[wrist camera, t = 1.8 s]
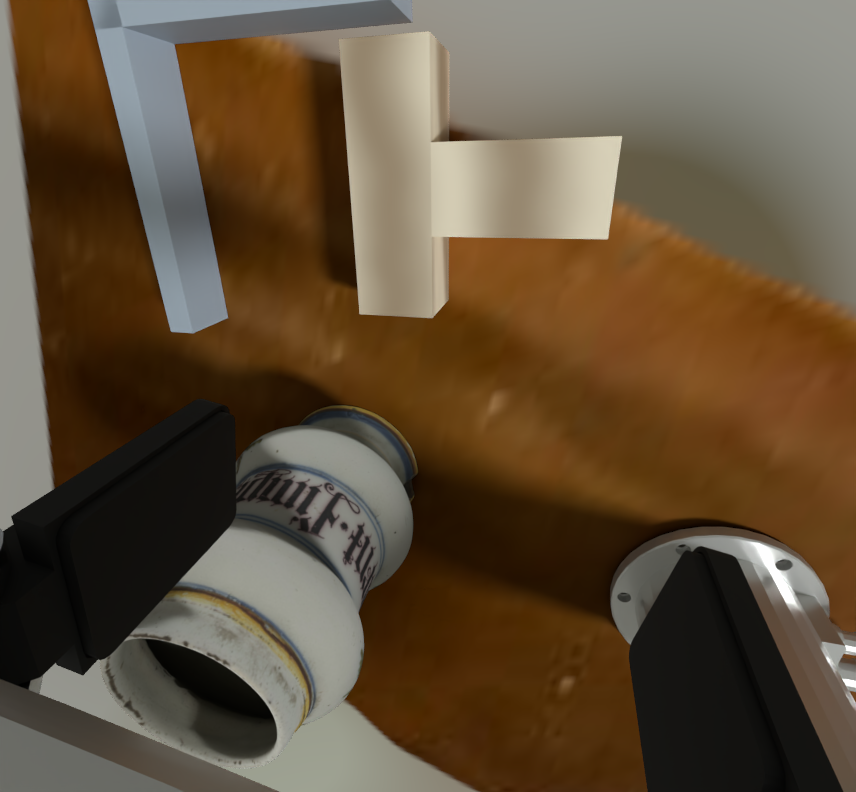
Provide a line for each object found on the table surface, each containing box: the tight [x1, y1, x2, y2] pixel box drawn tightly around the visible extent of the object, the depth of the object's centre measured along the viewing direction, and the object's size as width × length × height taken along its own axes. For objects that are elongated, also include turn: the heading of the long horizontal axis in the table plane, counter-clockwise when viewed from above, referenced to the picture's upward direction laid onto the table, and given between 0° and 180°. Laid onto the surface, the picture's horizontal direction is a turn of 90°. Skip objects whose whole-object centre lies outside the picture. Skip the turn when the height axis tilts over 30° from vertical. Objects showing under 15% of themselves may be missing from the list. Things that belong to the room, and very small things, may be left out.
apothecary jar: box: [100, 405, 418, 768], centre depth 27 cm, size 12×12×18 cm
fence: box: [88, 0, 412, 333], centre depth 26 cm, size 15×17×4 cm
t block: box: [339, 32, 622, 318], centre depth 23 cm, size 12×12×4 cm
